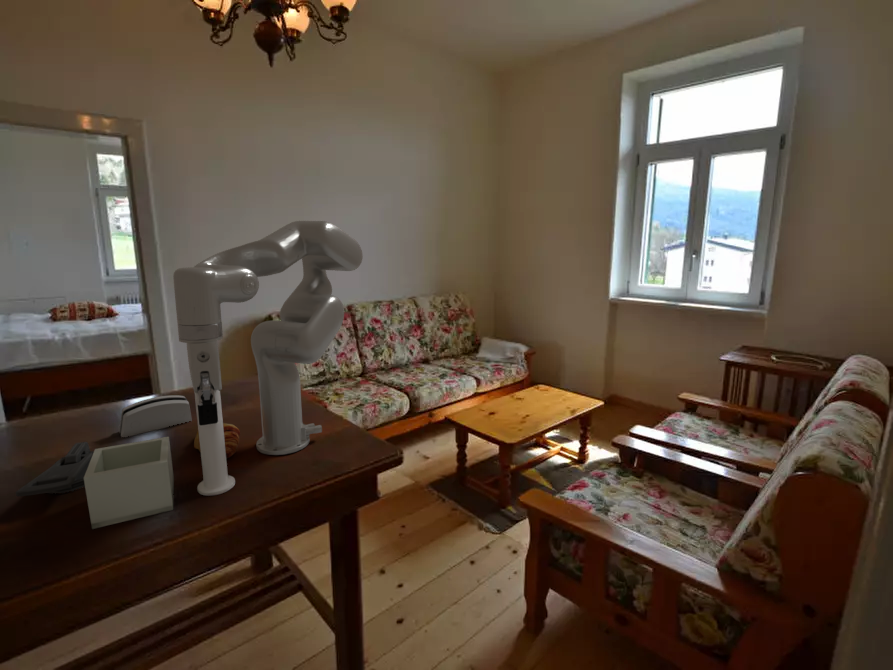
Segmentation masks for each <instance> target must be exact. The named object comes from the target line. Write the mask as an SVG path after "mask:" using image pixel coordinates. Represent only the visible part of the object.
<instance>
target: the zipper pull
mask: <svg viewBox="0 0 893 670" xmlns="http://www.w3.org/2000/svg"><path fill="white" fill-rule="evenodd" d="M90 449H91V448H90V445H89V443H88V442H87V441H80V442H75V443H74V444H73V445H72V446H71V448H70V450H69V451H68V452H67V454H66V455H65V456H63V457H61V458H60V459H59V460H57V461H55V463H54V464H53V465H51V467H48V468H47V469H46V470H45V471H43V472H42V473H41V474H39V475H38V476H36V477H35V478H33V479H32V480H30V481H29V482H28V483H26V484H25V485H24V486H22V487H20V488H19V489H17V490H16V491H15V495H16V496H17V497H18V498H19V497H28V496H33V495H34V496H35V495H41V494H46V493H47V494H53V493H55V495H57V494H56V493H62V494H66V493H65V492H67V493H70V492H69V491H72V492H75V491H77V490H76V489H78V490H80V489H79V488H81V489H83V488H82V487H84V488H85V483H84V476H85V473H86V471H87V468H88V466H89V463H90V461H91V458H92V456H93V453H94V451H95V450H94V451H93V450H92V451H91V450H90ZM74 490H75V491H74Z"/></svg>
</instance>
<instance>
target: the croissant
mask: <svg viewBox="0 0 893 670" xmlns="http://www.w3.org/2000/svg"><path fill="white" fill-rule="evenodd" d="M223 429H224V440H225V451H226V459H229V458H231V457H232V456H233V455H234V454H235V453H236V451H237V449H238V446H239V444H240V435H241V431H240V429H239V428H238V427H237V426H235V425H234V424H232V423H226V422H223ZM193 441H194V443H193V447H194V449H197V450H198V451H199V452H200V453H201V450H200V441H199V431H198V430H197V431H196V434H195V438H194V440H193Z"/></svg>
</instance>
